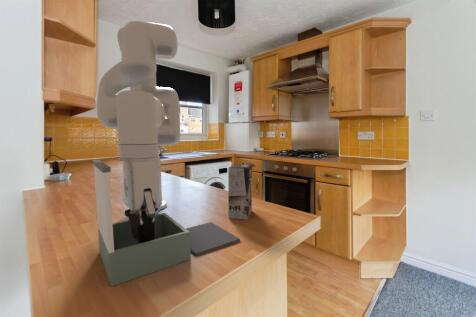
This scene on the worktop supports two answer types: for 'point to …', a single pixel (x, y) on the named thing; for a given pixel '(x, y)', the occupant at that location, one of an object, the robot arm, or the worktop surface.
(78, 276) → the worktop surface
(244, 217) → the coffee box
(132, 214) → the sundae
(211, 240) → the mat
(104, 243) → the open box
